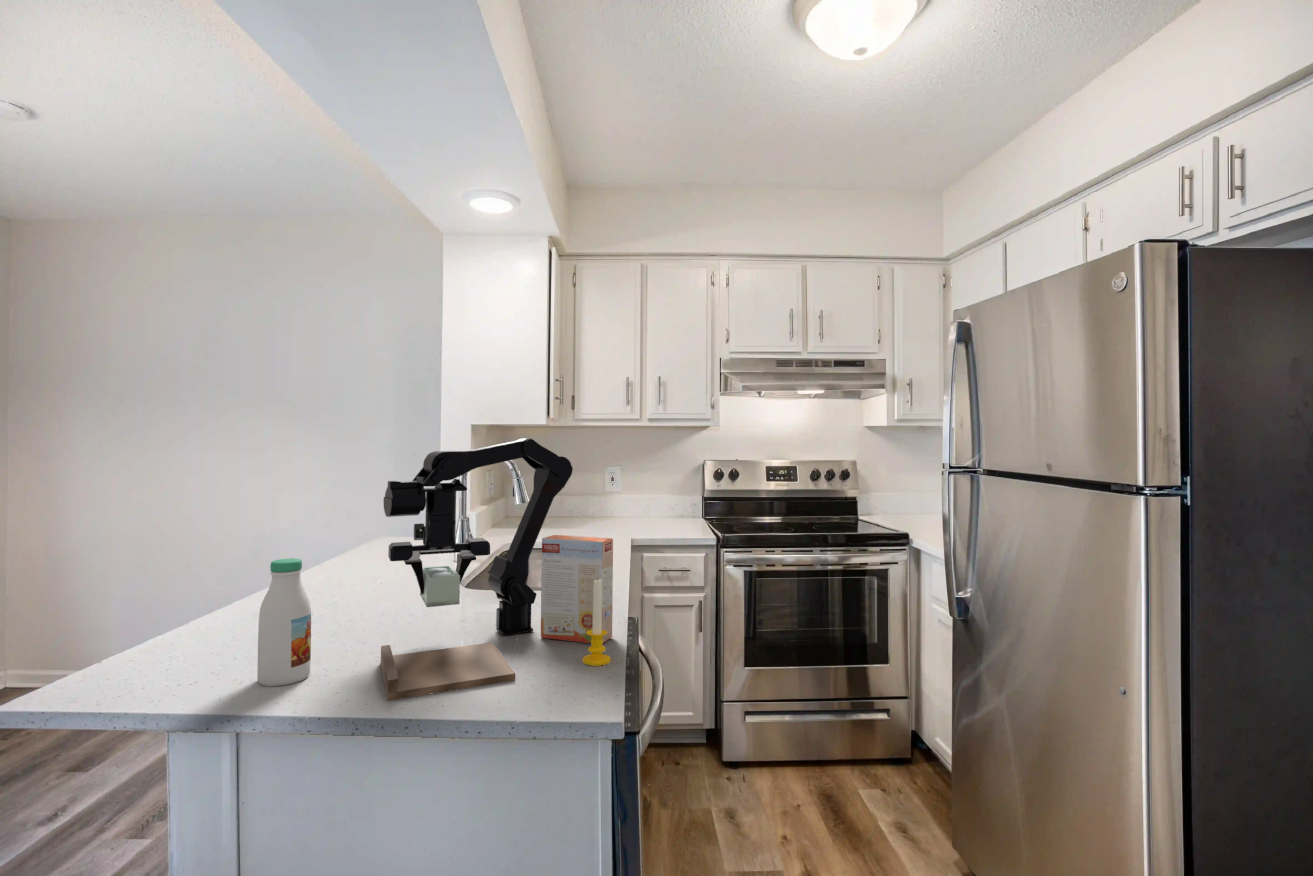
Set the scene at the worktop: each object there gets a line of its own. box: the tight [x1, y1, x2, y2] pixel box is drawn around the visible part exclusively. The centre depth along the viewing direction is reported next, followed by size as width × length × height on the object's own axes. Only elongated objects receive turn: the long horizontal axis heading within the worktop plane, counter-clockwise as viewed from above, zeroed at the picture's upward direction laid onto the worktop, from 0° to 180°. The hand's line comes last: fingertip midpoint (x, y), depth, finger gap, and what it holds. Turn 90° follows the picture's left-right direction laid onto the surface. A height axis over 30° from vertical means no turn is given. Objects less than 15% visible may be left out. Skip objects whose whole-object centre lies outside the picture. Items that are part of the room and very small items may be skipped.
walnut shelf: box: [380, 642, 516, 702], centre depth 110 cm, size 20×18×3 cm
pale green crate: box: [419, 564, 461, 608], centre depth 125 cm, size 6×11×6 cm, turn 27°
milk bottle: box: [257, 557, 312, 687], centre depth 106 cm, size 8×8×20 cm
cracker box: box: [540, 534, 614, 644], centre depth 130 cm, size 14×6×21 cm, turn 71°
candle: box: [582, 579, 612, 667], centre depth 116 cm, size 5×5×16 cm
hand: (439, 592), depth 125 cm, fingers closed on pale green crate, 6 cm apart
